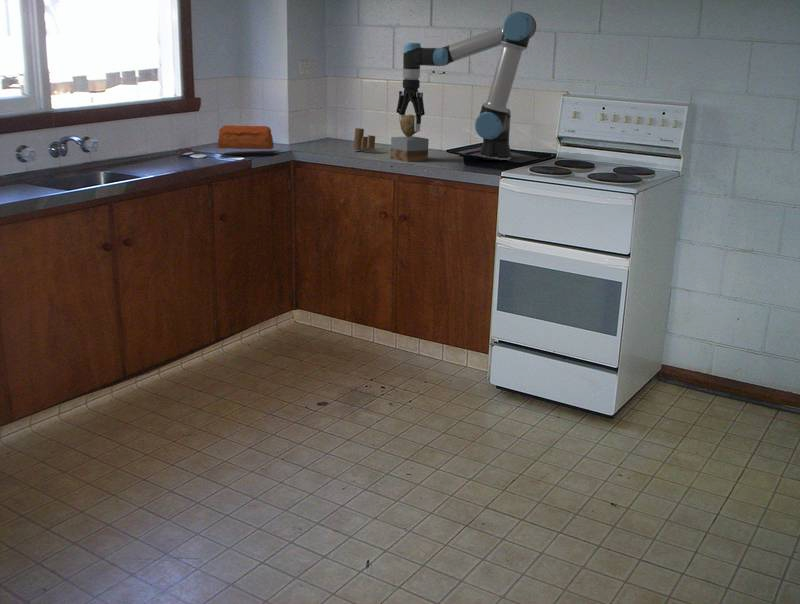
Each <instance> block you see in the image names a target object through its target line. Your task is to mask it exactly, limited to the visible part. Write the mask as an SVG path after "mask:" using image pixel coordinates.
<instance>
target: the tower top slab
mask: <svg viewBox="0 0 800 604" xmlns="http://www.w3.org/2000/svg"><path fill="white" fill-rule="evenodd" d="M390 140H391V143H390V144H391V145H390V149H391V148H392V149H397V150H403V151H420V150H428V151H429V138H425V137H419V136H414V135H412V136H411V137H407V136H393V137H392V136H391V138H390Z"/></svg>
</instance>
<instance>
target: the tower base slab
mask: <svg viewBox="0 0 800 604" xmlns="http://www.w3.org/2000/svg"><path fill="white" fill-rule="evenodd" d="M390 160H395V161H401V162H407V163H409V162H422V161H423V162H424V161H429V149H428V150H420V151H403V150H397V149H392V148H391V147H390Z"/></svg>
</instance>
